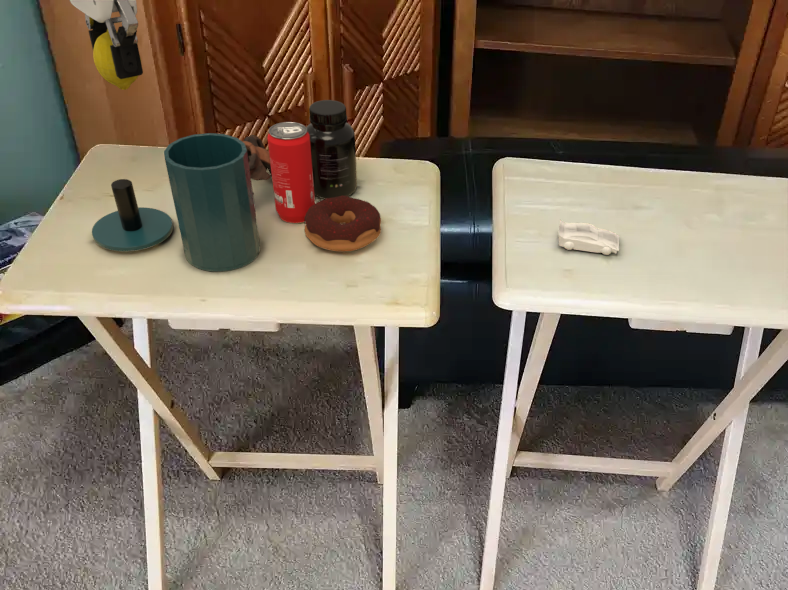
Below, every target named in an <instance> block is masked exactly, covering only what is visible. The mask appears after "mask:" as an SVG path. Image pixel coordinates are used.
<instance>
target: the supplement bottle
mask: <svg viewBox="0 0 788 590" xmlns="http://www.w3.org/2000/svg"><path fill="white" fill-rule="evenodd" d="M308 111H309V113H308V114H309V124H308V125H306V126H305V127H306V128H307V132H308V133H309V136H310V147H311V159H312V172H313V184H314V196H316V197H318V198H321V199H327V198H334V197H339V196H348V197H350V195H352V194H353V193H355V191H356V189H357V187H358V175H357V174H358V173H357V152H356V151H357V150H356V134H355V130H354V128H353V126H352V125H351V123H349V122H348V114H347V106H346V105H345V103H343V102H341V101H338V100H335V99H334V100H332V99H322V100H318V101H314V102H313V103H311V104H310V105H309V108H308Z"/></svg>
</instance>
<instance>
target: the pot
mask: <svg viewBox="0 0 788 590" xmlns="http://www.w3.org/2000/svg"><path fill="white" fill-rule="evenodd" d="M242 141H243V140H241V139H239V138H238V137H236V136H232V135H229V134H225V133H213V132H207V133H196V134H190V135H187V136H183V137H180V138H178V139H176V140H175V141H173V142H171V143H169V144H168V145H167V146H166V147H165V149H164V150H163V156H164V163H165V167H166V173H167V176H168V181H169V186H170V191H171V195H172V199H173V200H172V201H173V205H174V209H175V214H176V218H177V223H178V227H179V228H178V229H179V233H180V237H181V242H182V247H183V251H184V256H185V259H186V261H187V262H188V264H190V265H191V266H193V268H196V269H198V270H202V271H206V272H213V273H214V272H216V273H218V272H220V273H221V272H230V271H234V270H238V269H241V268H244V267H246V266H248V265H249V264H251V263H252V262H254V261H255V260H256V258H258V256H259V254H260V252H261V243H260V235H259V230H258V229H259V227H258V222H257V214H256V207H255V200H254V199H255V198H254V195H253V193H254V191H253V184H252V179H251V176H250V169H249V162H248V155H247V149H246V146H245V143H243V142H242Z"/></svg>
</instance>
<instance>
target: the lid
mask: <svg viewBox="0 0 788 590" xmlns="http://www.w3.org/2000/svg"><path fill="white" fill-rule="evenodd" d="M110 186H111V190H112V194H113V198H114V201H115V207H116V210H115V211H112V212H110V213H107V214H106V215H104V216H102V217H101V218H100V219H98V220H97V221H96V222H95V223H94V225H93V226H92V229H91V235H92V238H93V241H94V242H95V243H96V244H97V245H99V247H101V248H102V249H103V248H104V249H105V250H110V251H114V252H136V251H142V250H147V249H149V248H152V247H154V246H156V245H159V244H161V243H163V242H164V241H165V240H167V239H168V238H169V237H170V235H171V234H172V232H173V231H174V224H173V220H172V218H171V217H170V215H169V214H167V213H166V212H165V211H163V210H160V209H157V208H153V207H142V206H141V207H139V206H138V202H137V197H136V193H135V189H134V184H133V182H132V180H130V179H127V178H120V179H115V180H113V181H112V182H111V185H110Z"/></svg>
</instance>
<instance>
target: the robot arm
mask: <svg viewBox="0 0 788 590" xmlns="http://www.w3.org/2000/svg"><path fill="white" fill-rule="evenodd" d="M69 2H70V4H71V5H72V6H73V7H75V8H76V9H77V10H78V11H80V12H82V13H83V14H84V19H85V24H86V27H87V29H88V35H89V40H90V43H91V49H92V51H93V50H94V44H95V42H96V39H97V38H98V37H99V36H100V35H102V34H103V33H105V32H107V29H108V31H109V34H110V37H111V40H112V43H113V45H110V48H111V53H112V57H113V62H114V66H115V71H116V75H117V77H118V78H120V79H124V78H129V77H134V76H138V77H139V76H142V75H143V74H144V70H143V65H142V58H141V55H140V54H141V53H140V50H139V49H140V48H139V44H138V43H139V39H138V35H137V32H138V27H139V21H138V19H137V16H136V15H137V14H138V5H137V0H69ZM112 13H119V14H118V15H119V16H115V17H112ZM115 24H121V26H118V28H116V26H115ZM116 31H118V32H116ZM140 58H141V59H140Z"/></svg>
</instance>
